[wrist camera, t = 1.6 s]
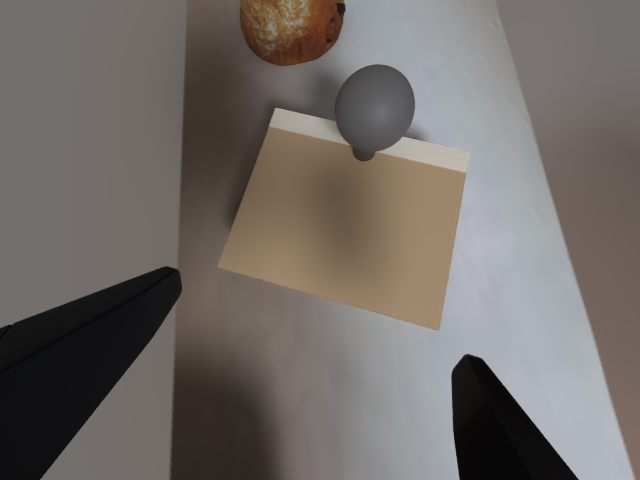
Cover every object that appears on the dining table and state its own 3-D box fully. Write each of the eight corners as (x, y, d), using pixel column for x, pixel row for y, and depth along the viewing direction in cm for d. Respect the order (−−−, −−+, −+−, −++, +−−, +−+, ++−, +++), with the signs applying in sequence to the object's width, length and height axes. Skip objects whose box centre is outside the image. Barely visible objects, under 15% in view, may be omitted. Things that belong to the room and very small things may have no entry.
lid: (435, 329, 17) (507, 346, 10) (220, 268, 18) (158, 246, 11) (466, 152, 20) (538, 73, 13) (278, 109, 21) (256, 17, 14)
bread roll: (273, 27, 33) (223, -47, 26) (352, -16, 29) (317, -119, 22) (269, 95, 31) (213, 34, 24) (354, 60, 26) (316, -28, 19)
